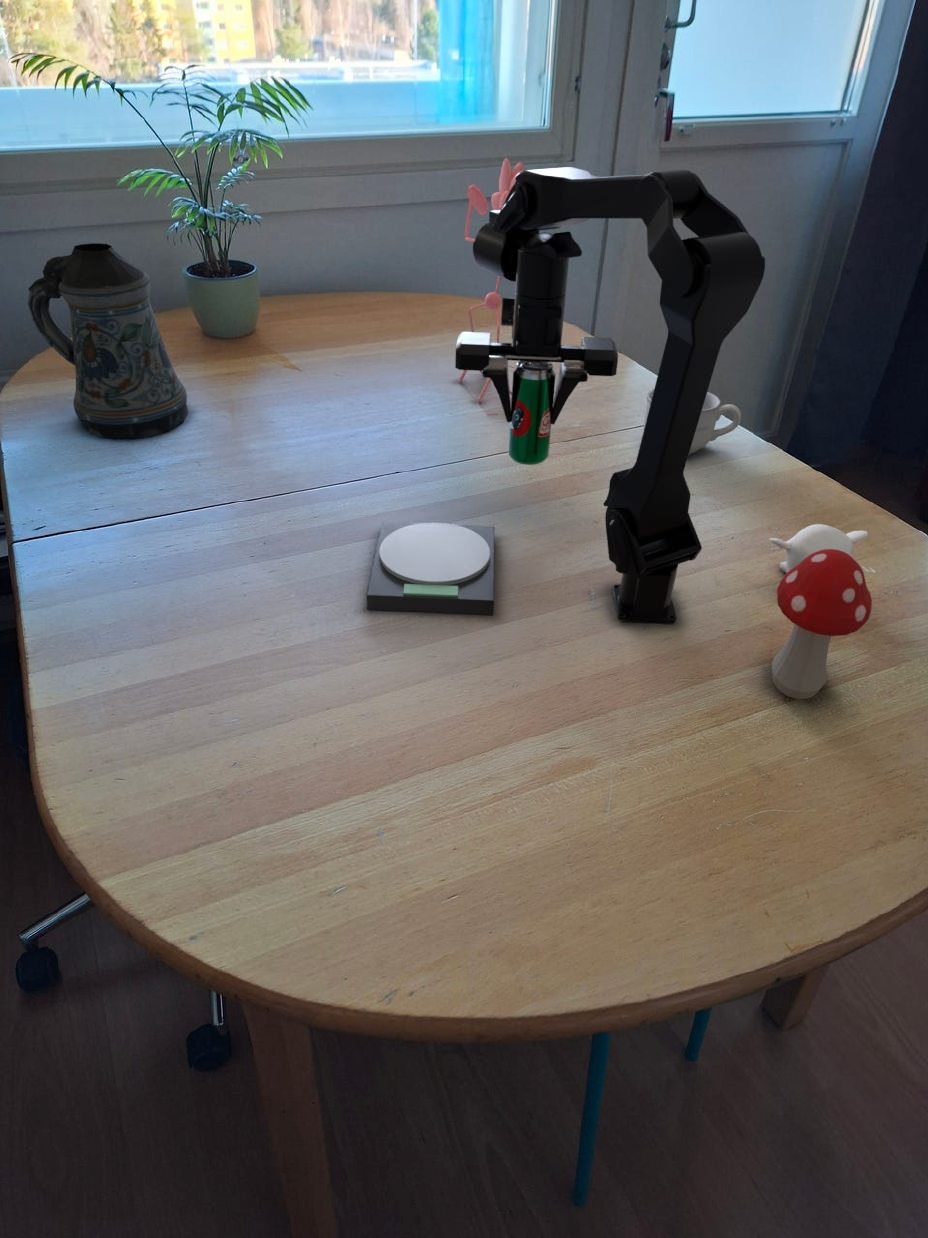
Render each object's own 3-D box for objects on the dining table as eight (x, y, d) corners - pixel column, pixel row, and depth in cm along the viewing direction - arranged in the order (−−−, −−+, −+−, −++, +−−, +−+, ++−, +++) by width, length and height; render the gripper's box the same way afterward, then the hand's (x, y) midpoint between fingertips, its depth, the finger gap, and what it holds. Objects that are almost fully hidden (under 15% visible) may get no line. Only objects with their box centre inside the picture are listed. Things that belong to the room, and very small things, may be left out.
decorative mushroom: (758, 642, 94) (794, 521, 85) (841, 662, 92) (887, 540, 83) (747, 698, 87) (785, 572, 78) (838, 722, 84) (888, 595, 75)
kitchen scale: (493, 615, 97) (494, 596, 95) (367, 609, 97) (366, 590, 95) (493, 539, 109) (494, 521, 108) (382, 535, 110) (381, 517, 108)
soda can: (545, 468, 108) (553, 373, 101) (504, 463, 109) (510, 369, 102) (550, 452, 112) (559, 359, 105) (512, 447, 113) (517, 355, 106)
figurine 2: (742, 587, 106) (788, 610, 96) (746, 519, 103) (793, 536, 94) (831, 579, 108) (884, 600, 98) (837, 512, 105) (893, 527, 96)
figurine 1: (492, 423, 138) (506, 178, 117) (438, 366, 157) (442, 147, 136) (579, 412, 142) (608, 175, 121) (516, 357, 162) (531, 144, 141)
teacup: (629, 451, 131) (637, 400, 126) (651, 425, 139) (660, 376, 134) (720, 473, 126) (732, 421, 121) (738, 445, 134) (750, 395, 129)
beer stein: (197, 432, 132) (168, 258, 117) (58, 450, 125) (10, 269, 111) (182, 392, 144) (155, 229, 129) (56, 406, 138) (12, 237, 123)
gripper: (616, 276, 105) (601, 400, 114) (461, 269, 105) (458, 394, 114) (626, 303, 96) (608, 435, 105) (456, 296, 96) (453, 429, 105)
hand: (530, 421), depth 108 cm, fingers closed on soda can, 5 cm apart
